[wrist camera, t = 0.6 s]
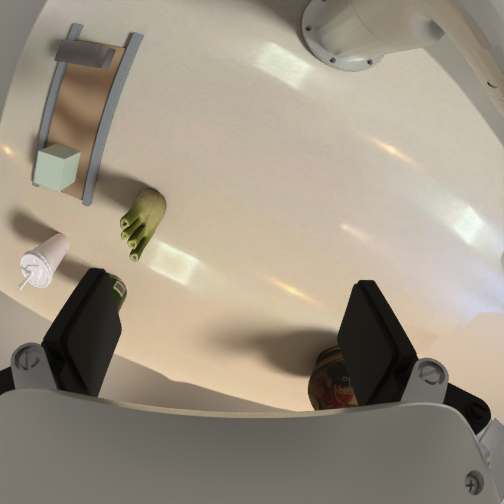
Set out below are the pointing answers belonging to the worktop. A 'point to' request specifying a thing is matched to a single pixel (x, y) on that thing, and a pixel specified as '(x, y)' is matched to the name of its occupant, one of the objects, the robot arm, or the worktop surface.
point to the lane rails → (107, 113)
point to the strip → (82, 101)
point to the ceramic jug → (331, 383)
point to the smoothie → (43, 261)
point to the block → (56, 167)
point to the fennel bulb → (142, 221)
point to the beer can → (118, 291)
